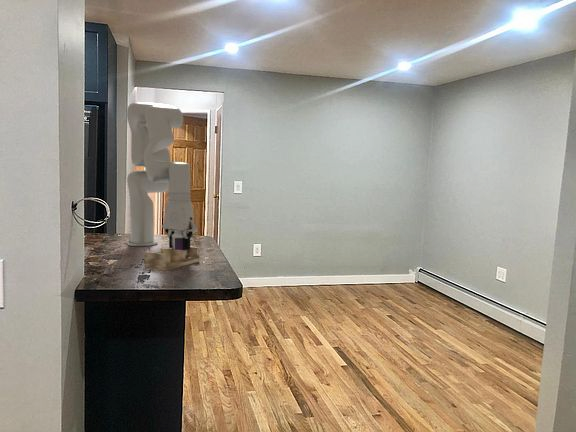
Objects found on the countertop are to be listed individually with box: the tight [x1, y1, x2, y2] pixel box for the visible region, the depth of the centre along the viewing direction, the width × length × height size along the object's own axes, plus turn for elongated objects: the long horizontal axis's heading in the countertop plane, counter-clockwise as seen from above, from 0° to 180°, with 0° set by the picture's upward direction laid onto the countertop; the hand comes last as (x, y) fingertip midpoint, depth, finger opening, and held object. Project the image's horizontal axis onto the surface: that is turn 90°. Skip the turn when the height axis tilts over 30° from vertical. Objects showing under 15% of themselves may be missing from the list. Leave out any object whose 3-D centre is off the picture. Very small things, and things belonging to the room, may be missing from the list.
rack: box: [144, 245, 200, 271], centre depth 162 cm, size 10×17×5 cm, turn 154°
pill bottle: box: [171, 230, 187, 255], centre depth 165 cm, size 5×5×10 cm
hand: (179, 247), depth 165 cm, fingers closed on pill bottle, 5 cm apart
